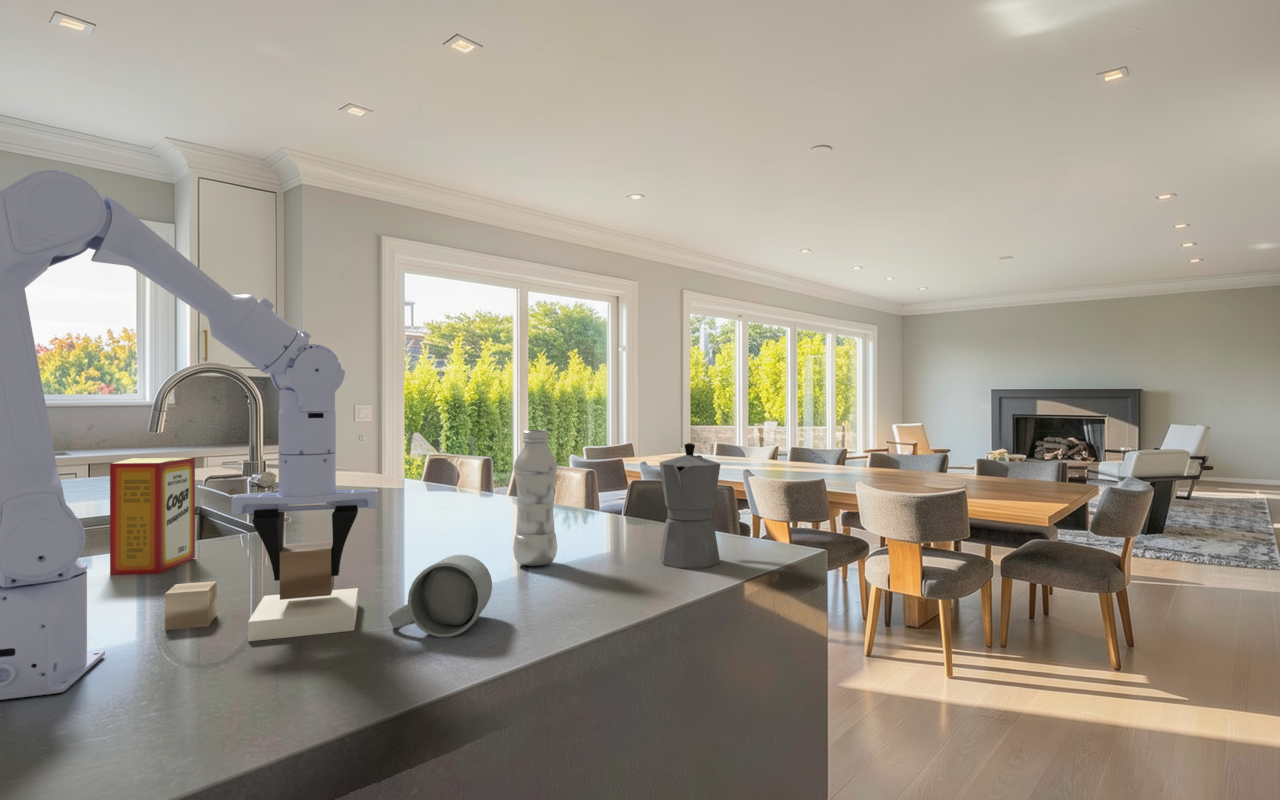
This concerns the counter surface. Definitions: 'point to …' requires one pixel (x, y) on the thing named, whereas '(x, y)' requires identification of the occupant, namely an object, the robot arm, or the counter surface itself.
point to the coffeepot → (689, 511)
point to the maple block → (190, 605)
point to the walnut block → (306, 570)
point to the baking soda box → (151, 514)
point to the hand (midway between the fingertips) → (307, 576)
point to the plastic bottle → (535, 501)
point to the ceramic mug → (446, 597)
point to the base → (304, 615)
